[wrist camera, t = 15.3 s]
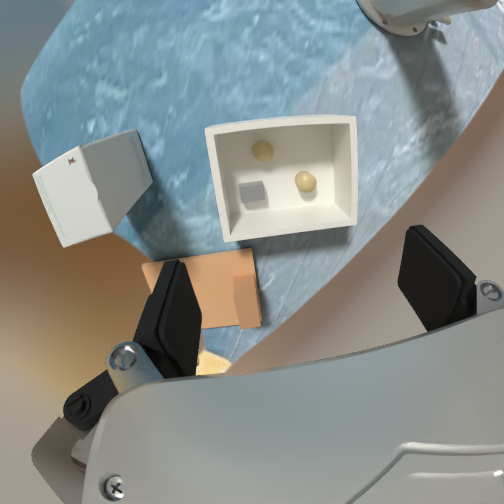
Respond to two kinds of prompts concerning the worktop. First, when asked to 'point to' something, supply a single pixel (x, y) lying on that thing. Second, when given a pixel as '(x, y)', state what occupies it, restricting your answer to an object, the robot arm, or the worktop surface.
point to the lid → (220, 287)
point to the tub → (284, 174)
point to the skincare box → (93, 186)
